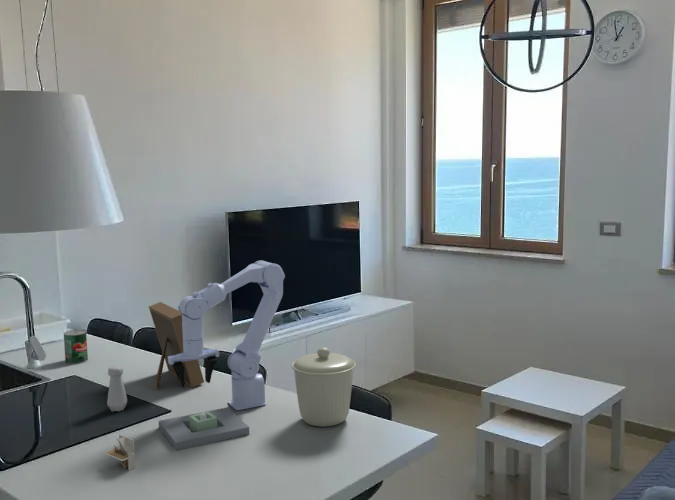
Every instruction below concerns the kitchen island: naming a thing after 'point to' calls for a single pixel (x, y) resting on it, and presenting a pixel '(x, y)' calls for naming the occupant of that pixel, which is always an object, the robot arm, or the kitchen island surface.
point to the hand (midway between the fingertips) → (195, 384)
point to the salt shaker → (116, 389)
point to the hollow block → (202, 422)
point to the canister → (323, 387)
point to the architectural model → (124, 452)
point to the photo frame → (173, 343)
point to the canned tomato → (75, 346)
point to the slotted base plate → (185, 438)
